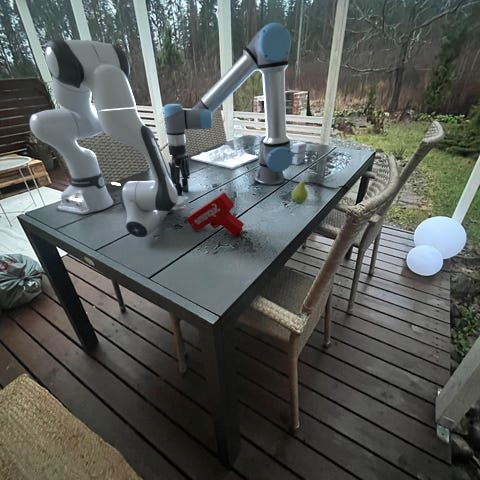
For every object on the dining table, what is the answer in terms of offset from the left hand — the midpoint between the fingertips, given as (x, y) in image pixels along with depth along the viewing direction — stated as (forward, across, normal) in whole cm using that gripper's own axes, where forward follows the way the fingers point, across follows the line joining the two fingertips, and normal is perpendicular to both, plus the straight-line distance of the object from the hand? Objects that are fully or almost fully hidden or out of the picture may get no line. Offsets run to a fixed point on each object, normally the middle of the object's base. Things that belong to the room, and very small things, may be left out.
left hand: (169, 194), depth 113 cm
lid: (+16, 0, +2) cm, 16 cm away
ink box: (+73, -56, +7) cm, 92 cm away
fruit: (+14, -55, +7) cm, 57 cm away
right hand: (+16, 0, +6) cm, 17 cm away
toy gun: (-16, -23, +7) cm, 29 cm away
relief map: (+76, -8, +7) cm, 77 cm away
